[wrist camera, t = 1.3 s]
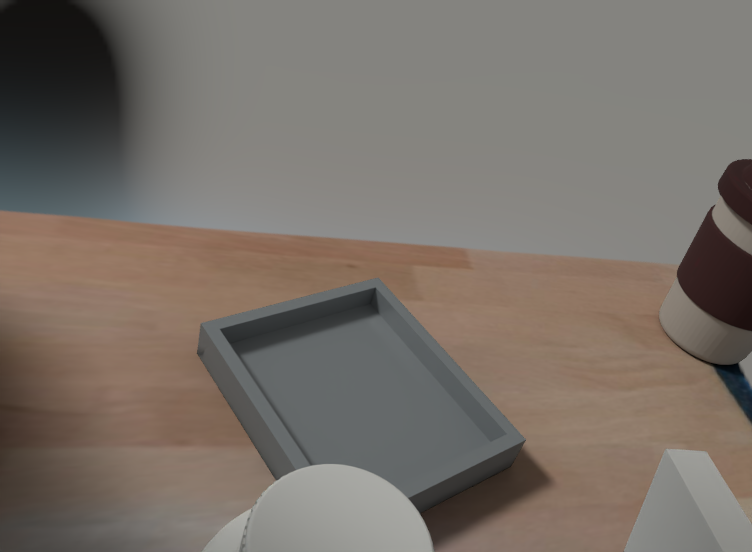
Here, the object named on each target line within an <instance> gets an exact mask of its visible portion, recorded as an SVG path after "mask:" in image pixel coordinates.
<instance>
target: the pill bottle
mask: <svg viewBox="0 0 752 552" xmlns="http://www.w3.org/2000/svg"><path fill="white" fill-rule="evenodd" d="M201 552H435V550H434V548H433V542H432V539H431V535H430V533H429V531H428V528H427V526H426V524H425V522H424V520H423V518H422V516H421V515H420V513H419V512H418V510H417V509H416V507H415V506H414V505H413V504H412V502H411V501H410V500H409V499H408V498H407V497H406V496H405V495H404V494H403V493H402V492H401V491H400V490H399V489H397V488H396V487H395V486H394V485H392V484H391V483H389V482H388V481H386V480H385V479H383V478H381V477H379V476H377V475H375V474H373V473H371V472H368V471H366V470H363V469H360V468H356V467H352V466H347V465H340V464H321V465H313V466H309V467H305V468H301V469H298V470H296V471H293V472H291V473H288V474H287V475H285V476H283V477H281V478H280V479H279V480H276V481H275V482H274V483H273V485H270V486H269V487H268V488H267V490H266V491H264V492H263V493H262V494H261V497H260V498H258V499H257V501H256V503H255V505H253V507H252V509H250V510H248V511H246V512H244V513H242V514H241V515H239V516H238V517H236V518H235V519H233V520H232V521H231V522H229V523H228V524H227V525H226V526H224V527H223V528H222V529H221V530H220V531H219V532H218V533H217V534H216V535H215V536H214V537H213V538H212V539H211V540H210V542H209V543H208V544H207V545H206V546H205V548H204V549H203V550H202V551H201Z"/></svg>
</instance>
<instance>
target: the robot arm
mask: <svg viewBox="0 0 752 552" xmlns="http://www.w3.org/2000/svg"><path fill="white" fill-rule="evenodd" d="M624 552H752V524H751V522H750V521H749V519H748V518H747V516H746V514H745V513H744V511H743V510H742V508H741V506H740V505H739V503H738V502H737V500H736V498H735V497H734V495H733V494H732V492H731V490H730V489H729V487H728V486H727V484H726V482H725V481H724V479H723V478H722V476H721V474H720V473H719V471H718V470H717V468H716V466H715V465H714V463H713V462H712V460H711V458H710V457H709V455H708V454H707V452H706V451H693V450H677V449H665V452H664V454H663V456H662V459H661V461H660V464H659V466H658V469H657V471H656V474H655V476H654V479H653V481H652V483H651V486H650V488H649V491H648V493H647V496H646V498H645V501H644V503H643V505H642V508H641V510H640V513H639V515H638V518H637V520H636V523H635V525H634V527H633V530H632V532H631V535H630V537H629V540H628V542H627V545H626V547H625V550H624Z"/></svg>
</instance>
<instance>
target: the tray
mask: <svg viewBox="0 0 752 552" xmlns="http://www.w3.org/2000/svg"><path fill="white" fill-rule="evenodd" d="M197 354H198V356H199V357H200V359H201V360H202V362H203V364H204V365H205V367H206V368H207V370H208V372H209V373H210V375H211V376H212V378H213V380H214V381H215V383H216V384H217V386H218V388H219V389H220V391H221V393H222V394H223V396H224V397H225V399H226V401H227V402H228V404H229V405H230V407H231V409H232V410H233V412H234V413H235V415H236V417H237V418H238V420H239V421H240V423H241V425H242V426H243V428H244V430H245V431H246V433H247V434H248V436H249V438H250V439H251V441H252V442H253V444H254V446H255V447H256V449H257V450H258V452H259V454H260V455H261V457H262V458H263V460H264V462H265V463H266V465H267V466H268V468H269V470H270V471H271V473H272V475H273V476H274V478H275V479H276V480H279V479H280V478H281V477H283V476H285V475H287V474H288V473H291V472H293V471H296V470H298V469H301V468H305V467H309V466H313V465H321V464H340V465H347V466H352V467H356V468H360V469H363V470H366V471H368V472H371V473H373V474H375V475H377V476H379V477H381V478H383V479H385V480H386V481H388V482H389V483H391V484H392V485H394V486H395V487H396V488H397V489H399V490H400V491H401V492H402V493H403V494H404V495H405V496H406V497H407V498H408V499H409V500H410V501H411V502H412V504H413V505H414V506H415V507H416V509H417V510H418V512H419V513H421V512H423V511H425V510H427V509H429V508H431V507H433V506H435V505H437V504H439V503H441V502H443V501H445V500H447V499H449V498H451V497H452V496H454V495H456V494H458V493H460V492H462V491H464V490H466V489H468V488H470V487H472V486H474V485H476V484H478V483H480V482H482V481H483V480H485V479H487V478H489V477H491V476H493V475H495V474H497V473H499V472H501V471H503V470H505V469H507V468H509V467H511V465H512V463H513V462H514V460H515V458H516V457H517V455H518V453H519V451H520V450H521V448H522V446H523V444H524V443H525V441H526V439H525V438H524V437H523V436H522V435H521V434H520V433H519V432H518V430H517V429H516V428H515V427H514V426H513V425H512V424H511V423H510V422H509V421H508V419H507V418H506V417H505V416H504V415H503V414H502V413H501V412H500V411H499V410H498V408H497V407H496V406H495V405H494V404H493V403H492V402H491V401H490V400H489V399H488V397H487V396H486V395H485V394H484V393H483V392H482V391H481V390H480V389H479V388H478V387H477V385H476V384H475V383H474V382H473V381H472V380H471V379H470V378H469V377H468V376H467V374H466V373H465V372H464V371H463V370H462V369H461V368H460V367H459V366H458V365H457V363H456V362H455V361H454V360H453V359H452V358H451V357H450V356H449V355H448V354H447V352H446V351H445V350H444V349H443V348H442V347H441V346H440V345H439V344H438V343H437V342H436V340H435V339H434V338H433V337H432V336H431V335H430V334H429V333H428V332H427V331H426V329H425V328H424V327H423V326H422V325H421V324H420V323H419V322H418V321H417V320H416V318H415V317H414V316H413V315H412V314H411V313H410V312H409V311H408V310H407V309H406V307H405V306H404V305H403V304H402V303H401V302H400V301H399V300H398V299H397V298H396V297H395V295H394V294H393V293H392V292H391V291H390V290H389V289H388V288H387V287H386V286H385V284H384V283H383V282H382V281H381V280H380V279H379V278H375V279H371V280H367V281H363V282H359V283H355V284H352V285H348V286H344V287H340V288H336V289H332V290H328V291H324V292H321V293H317V294H313V295H309V296H305V297H301V298H297V299H293V300H290V301H286V302H282V303H278V304H274V305H270V306H266V307H262V308H258V309H255V310H251V311H247V312H243V313H239V314H235V315H231V316H227V317H224V318H220V319H216V320H212V321H208V322H204V323H201V326H200V334H199V342H198V350H197Z"/></svg>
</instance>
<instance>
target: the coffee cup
mask: <svg viewBox="0 0 752 552" xmlns="http://www.w3.org/2000/svg"><path fill="white" fill-rule="evenodd" d="M718 190H719V193H720V195H721V196H720V198H719V200H718V201H717V203H716V205H714V206H713V207H711V209H710V210H709V212H708V213H707V215H706V217H705V219H704V221H703V223H702V225H701V227H700V228H699V230H698V232H697V234H696V236H695V238H694V240H693V242H692V243H691V245H690V247H689V249H688V251H687V253H686V255H685V256H684V258H683V260H682V262H681V264H680V266H679V268H678V271H677V278H676V279H675V281H674V283H673V285H672V287H671V289H670V291H669V292H668V294H667V296H666V298H665V300H664V302H663V304H662V305H661V308H660V311H659V320H660V323H661V326H662V327H663V329H664V331H665V332H666V333H667V335H668V336H669V337H670V338H671V339H672V340H673V341H674V342H675V343H676V344H677V345H678V346H680V347H681V348H682V349H684V350H685V351H687V352H688V353H690V354H692V355H694V356H695V357H697V358H700V359H702V360H705V361H707V362H711V363H715V364H720V365H731V364H736V363H739V362H740V361H742V360H743V359H744V358H746V357H747V355H748V354H749V353H750V352H751V351H752V160H751V159H749V160H748V159H742V160H737V161H734V162H732V163H731V164H730V165H729V166H728V167H727V169H726V170H725V172H724V173H723V175H722V177H721V178H720V180H719V183H718Z"/></svg>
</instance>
